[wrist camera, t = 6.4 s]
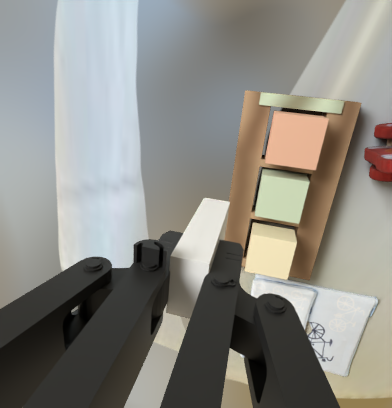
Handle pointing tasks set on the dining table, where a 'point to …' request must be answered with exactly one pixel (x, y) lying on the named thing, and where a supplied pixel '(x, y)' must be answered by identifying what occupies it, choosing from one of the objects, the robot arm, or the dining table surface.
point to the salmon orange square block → (296, 139)
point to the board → (319, 179)
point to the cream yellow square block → (270, 251)
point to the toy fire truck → (381, 154)
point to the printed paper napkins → (324, 318)
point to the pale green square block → (281, 195)
